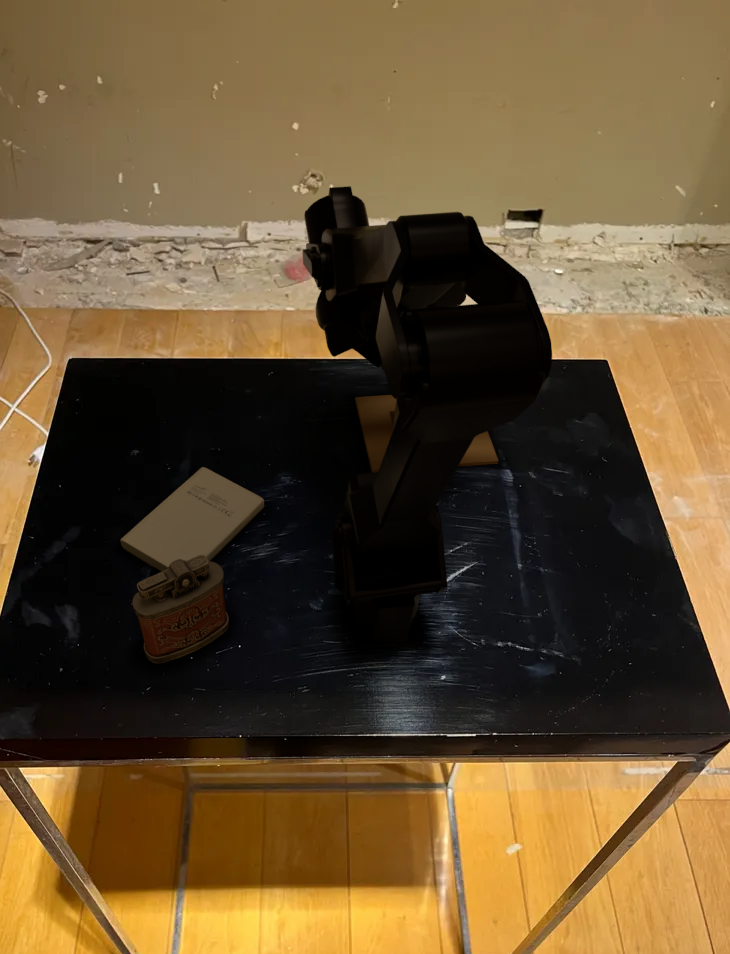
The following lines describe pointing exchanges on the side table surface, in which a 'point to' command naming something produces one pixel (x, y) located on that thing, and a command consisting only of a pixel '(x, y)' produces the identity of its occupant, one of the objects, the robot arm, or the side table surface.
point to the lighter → (181, 608)
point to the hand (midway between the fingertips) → (442, 374)
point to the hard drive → (193, 521)
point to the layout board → (379, 428)
